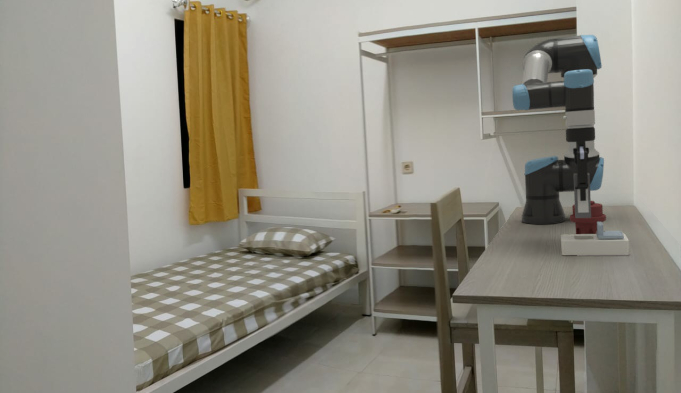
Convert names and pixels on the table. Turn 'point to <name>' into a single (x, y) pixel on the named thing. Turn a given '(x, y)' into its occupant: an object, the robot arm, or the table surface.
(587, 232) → the mechanical component
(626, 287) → the table surface
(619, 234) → the panel
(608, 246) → the socket
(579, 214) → the plug
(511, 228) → the table surface
